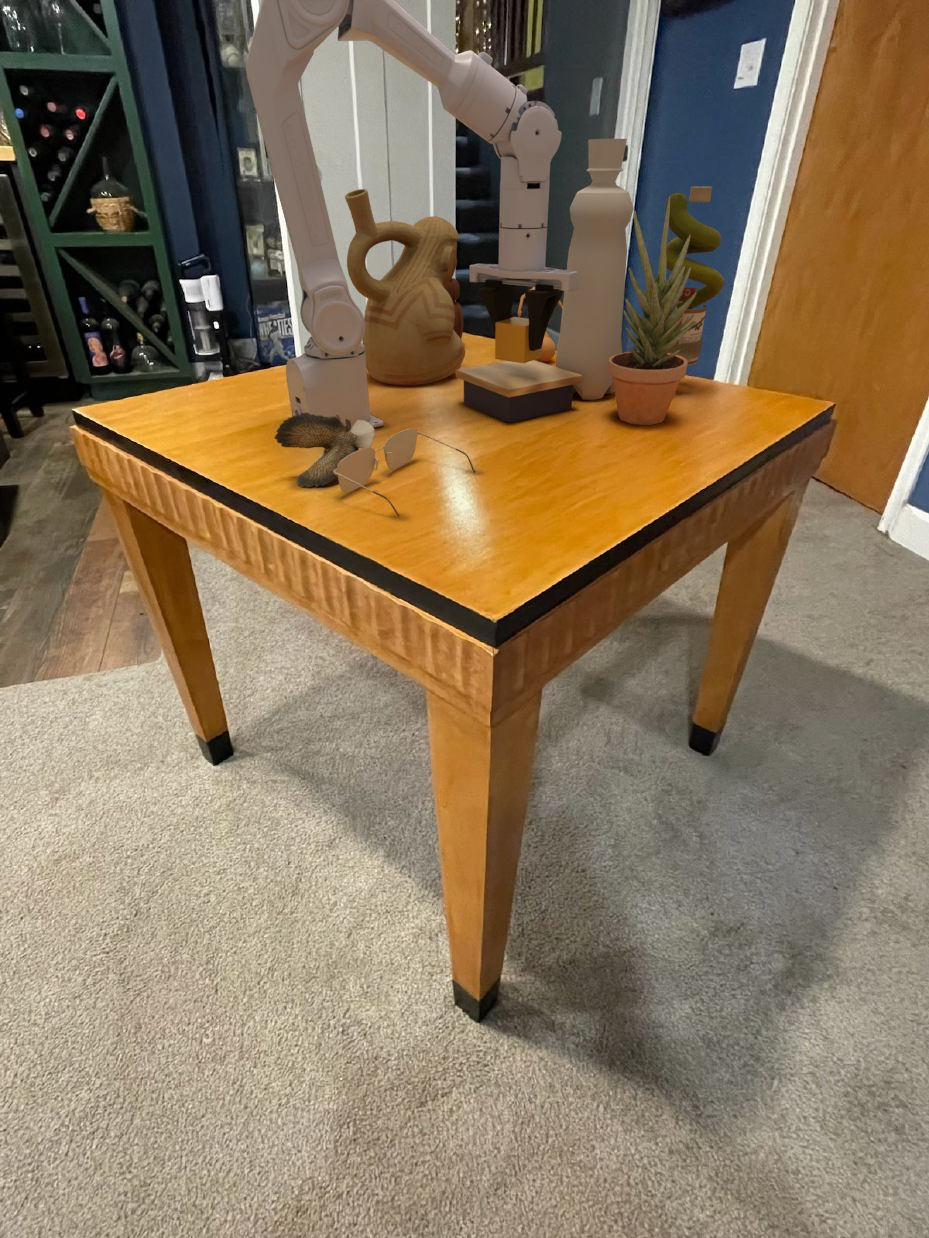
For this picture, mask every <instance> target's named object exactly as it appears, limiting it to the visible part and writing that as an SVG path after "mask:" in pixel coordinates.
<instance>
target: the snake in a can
mask: <svg viewBox="0 0 929 1238" xmlns="http://www.w3.org/2000/svg"><path fill="white" fill-rule="evenodd" d="M713 188H714V187H713V186H690V193H689V196H688V199H687V196H686V195H685V194H684V193H681V192H676V193H675V192H674V193H672V194H671V195H669V196H670V215H669V227H668V228H669V229H670V231H671V232H672V233H673V234H674V235H675V236H676V237H673V238H672V239H671V240H670V241H669V242H667V247H666V269H667V270H669V272H670V273H671V272H672V270H673V268H674V266H675V264H676V262H677V260H678V257H679V255H680V253H681V251H682V249H683V246H684V244H685V242H686V240H687V239H688V237H689V235H690V234H691V236H690V241H689V245H688V249H687V252H686V255H691V254H701V253H702V254H703V253H712V252H714V251H716V250H718V248H719V247H720V246H721V242H722V236H721V233H720V232H719V231H718V230H717V229H715V228H713V227H710V226H708V225H706V224H704V223H702V222H700V220H697V219H696V218H694V216H692V215H691V214H690V213H689V211H688V205H689V204H688V202H689V203H710V202H711V199H712V190H713ZM668 200H669V197H668V198H667V200H666V202H665V211H666V210H667V204H668ZM684 266H685V268H684V273H683V276H682V278H684V276H685V274H686V272H687V271H688V269H689V267H690V269H691V270H690V274H689V277H688V280H692V281H695V282H698V283H701V284H702V285H703V284H704V285H703V286H701V287H699V288H696V287H686V286H684V289H683V291H682V294H681V296H680V298H679V300H678V302H677V305H676V306H677V309H678V308H680V307H681V306H682V305H683V304H684V303H685V302H686V301H687V300H688V299H689V298H690V297H691V296H692V295H693V294H694V293H695V292H696V296H695V298H694V299H693V301H692V302H691V304H690V305H689V307H688V308H687V309H686V311H685V312H684V313H683V314H682V316H681V317H683V318H682V320H681V322H680V323H679V325H678V326H677V327H679V326H680V325H682V324H683V323H684V322H685V321H686V320H687V319H688V318H689V317H690V316H691V315H692V314H693V315H694V317H693V318H692V319H691V320H690V321H689V322H688V324H686V325H685V326H684V327H683V328H682V329H681V330H683V329H684V328H686V327H687V326H689V325H690V324H692V323H693V322H694V321H696V323H695V324H694V325H693V326H692V327H691V328H690V329H689V330H688V331H687V332H686V333H685V334H684V335H683V337H682V338H681V339H680V340H679V341H678V342H677V343H676V344H675V345H674V346H673V347H672V348H671V349H670V350H669V351H668V353H671V354H672V353H674V352H676V351H677V350H680V351H679V352H678V353H677V354H676V355H679V356H682V357H684V358H685V359H686V360H687V363H688V364H687V366H691V365H695V364H697V363H698V358H699V357H700V356H701V350H702V346H703V345H702V344H703V337H702V336H703V329H704V323H705V318H706V312H707V304H705V303H707V302H709V301H710V300H712V299H713V298H714V297H716V296H717V295H719V294H720V293H721V291H722V289H723V287H724V284H725V278H724V277H723V275H722V274H721V273H720V272H719V271H718V270H716V269H714V268H713V267H710V266H709V265H706V264H703V263H701V262H698V261H696V260H693V259H691V258H690V257H689V258H688V257H687V256H685V259H684V262H683V265H682V267H684ZM682 267H681V270H682ZM681 270H680V272H681ZM679 274H680V273H679ZM701 305H702V308H697V307H699V306H701ZM677 309H676V310H677ZM681 317H680V318H681ZM680 318H679V319H680ZM679 319H678V320H679ZM676 323H677V322H676ZM676 323H675V324H676ZM675 324H674V325H675ZM677 327H676V328H677ZM681 330H680V331H681ZM680 331H679V332H680ZM679 332H678V333H679Z"/></svg>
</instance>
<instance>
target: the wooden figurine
mask: <svg viewBox="0 0 929 1238" xmlns="http://www.w3.org/2000/svg"><path fill="white" fill-rule="evenodd" d="M444 288H445V289H446V291H447V292H448V293H449V295H450V296H451V298H452V301H453V304H454V310H455V319H454V328H453V330H454V331H455V332H456V334H457V335H458V336H459V337H460V338H461V339H462V338H463V332H464V313H463V308H462V305H461V304H460V303H459V302H458V301H457V300H458V299H459V298H460V294H461V290H460V289H461V287H460V283H459V281H458V280H457V279H456V278H454V277H452V278H451V280H450V281H449V283H448V284H447V285H446V286H444Z"/></svg>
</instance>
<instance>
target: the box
mask: <svg viewBox="0 0 929 1238" xmlns="http://www.w3.org/2000/svg"><path fill="white" fill-rule="evenodd" d="M455 377H456V378H458V379H460V380H463V404H464V405H466V406H469V407H471V408H474V409H476V410H478V411H481V412H483V413H485V414H487V415H490V416H492V417H494V418H496V419H498V420H501V421H504V422H506V423H509V424H511V423H516V422H521V421H523V420H528V419H533V418H537V417H542V416H546V415H551V414H556V413H560V412H564V411H569V410H572V407H573V405H572V404H573V395H574V394H573V384H578V383H581V382H582V375H580V374H577V373H573V372H570V371H567V370H564V369H561V368H557V367H556V366H554V365H550V364H547V363H546V362H539V361H537V360H536V359H535V360H532V361H529V362H527V363H524V364H523V363H517V362H511V361H505V360H503V361H499V362H493V363H486V364H482V365H475V366H470V367H464V368H459V369H457V370H456V373H455ZM572 394H573V395H572Z"/></svg>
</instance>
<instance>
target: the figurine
mask: <svg viewBox="0 0 929 1238" xmlns="http://www.w3.org/2000/svg"><path fill="white" fill-rule="evenodd" d="M533 289H534V290H535V287H531V288H530V289H529V290H533ZM524 299H526V297H525V293H524V294H522V295H521V296H520V299H519V304H518V309H517V317H519V318H521V317H522V314H523V311H522V308H523V303H524ZM557 305H559V307H561V310H563V302H561V299H560V300H559V302H558V304H557ZM551 319H552V317H551V318H550V321H549V323H548V325H549V324H550V322H551ZM547 329H548V328H547ZM547 329H546V332H545V336H544V339H543V346H542V357H540V358H537V359H535V361H538V362H541V363H547V362H549V361H551V360H552V358H554V356H555V355H556V348H557V347H556V343H555V342H554V340H553V339H552V338H551V337H550V335H549V334H548V330H547Z"/></svg>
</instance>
